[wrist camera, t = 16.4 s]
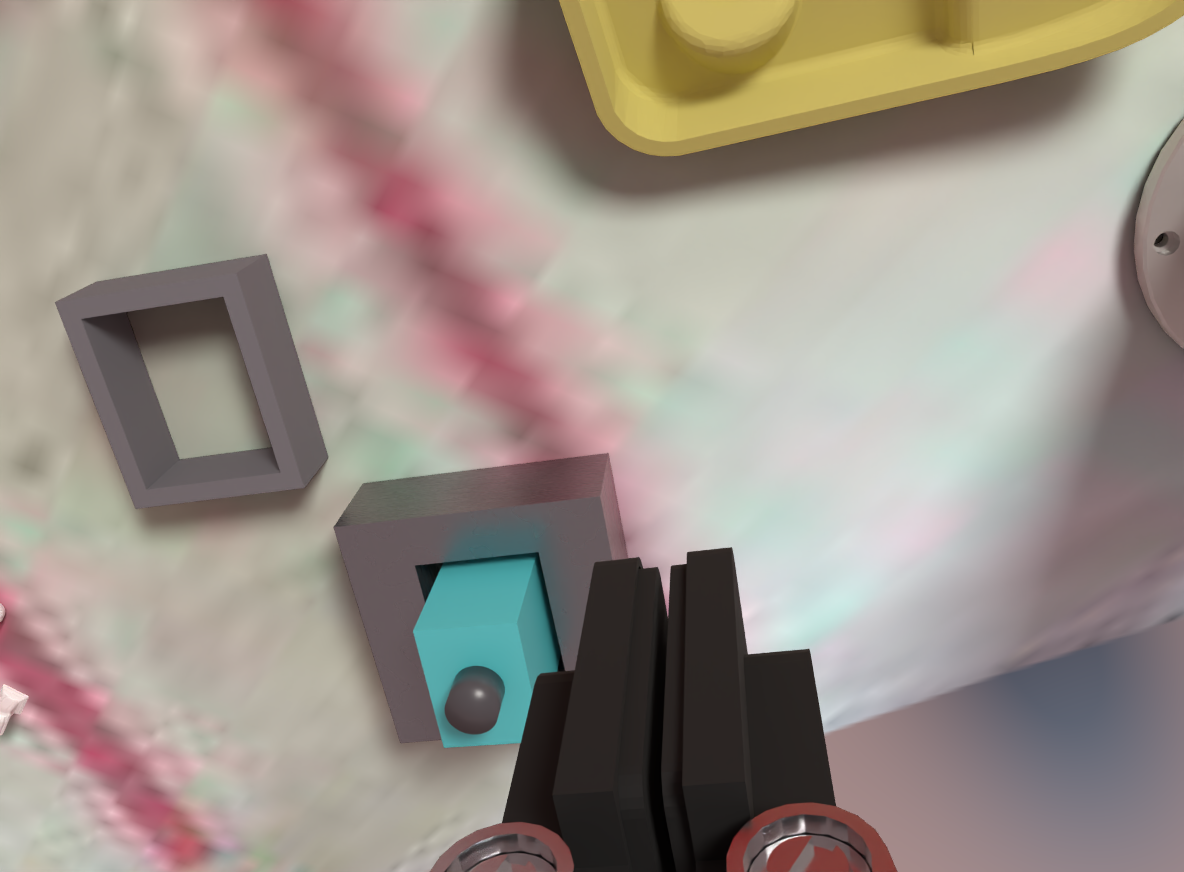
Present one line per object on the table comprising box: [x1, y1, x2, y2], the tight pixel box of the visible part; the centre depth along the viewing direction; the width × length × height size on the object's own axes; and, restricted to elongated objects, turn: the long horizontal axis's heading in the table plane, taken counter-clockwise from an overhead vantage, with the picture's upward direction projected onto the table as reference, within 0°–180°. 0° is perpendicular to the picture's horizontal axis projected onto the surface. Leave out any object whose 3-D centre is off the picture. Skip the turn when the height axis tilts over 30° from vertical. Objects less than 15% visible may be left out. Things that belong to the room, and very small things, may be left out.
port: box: [334, 453, 628, 743], centre depth 45 cm, size 11×11×4 cm
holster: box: [55, 254, 328, 509], centre depth 42 cm, size 8×9×3 cm
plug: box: [413, 552, 561, 748], centre depth 42 cm, size 4×6×10 cm
